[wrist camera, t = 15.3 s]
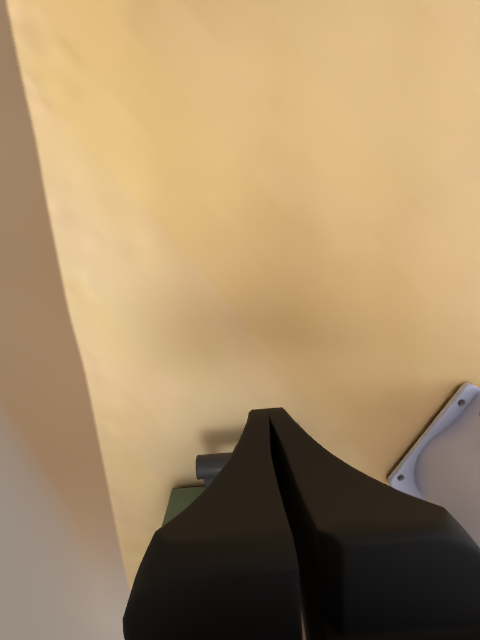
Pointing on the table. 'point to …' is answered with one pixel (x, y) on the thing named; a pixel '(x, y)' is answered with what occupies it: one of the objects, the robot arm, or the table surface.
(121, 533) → the table surface
